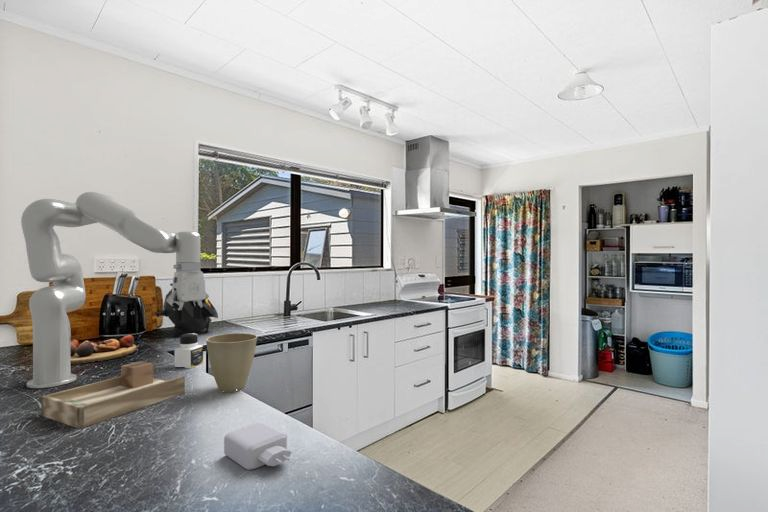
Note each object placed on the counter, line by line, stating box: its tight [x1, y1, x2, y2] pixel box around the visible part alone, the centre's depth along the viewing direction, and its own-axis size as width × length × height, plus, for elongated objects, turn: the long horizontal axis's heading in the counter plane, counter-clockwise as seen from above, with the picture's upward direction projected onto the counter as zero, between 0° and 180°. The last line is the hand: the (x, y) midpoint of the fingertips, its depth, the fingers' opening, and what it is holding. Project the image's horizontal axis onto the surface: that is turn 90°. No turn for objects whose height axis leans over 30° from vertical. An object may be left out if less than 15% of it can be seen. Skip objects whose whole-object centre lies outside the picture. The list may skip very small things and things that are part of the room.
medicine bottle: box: [174, 332, 204, 369], centre depth 152 cm, size 7×7×12 cm
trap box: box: [41, 375, 186, 429], centre depth 112 cm, size 18×28×5 cm, turn 153°
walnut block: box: [120, 360, 154, 389], centre depth 121 cm, size 6×6×6 cm
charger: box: [223, 421, 292, 471], centre depth 81 cm, size 5×9×15 cm
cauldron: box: [154, 282, 219, 338], centre depth 217 cm, size 28×28×24 cm
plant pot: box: [205, 332, 258, 393], centre depth 125 cm, size 15×15×16 cm
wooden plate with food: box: [71, 334, 138, 365], centre depth 169 cm, size 32×32×8 cm
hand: (188, 319), depth 137 cm, fingers open, 6 cm apart
